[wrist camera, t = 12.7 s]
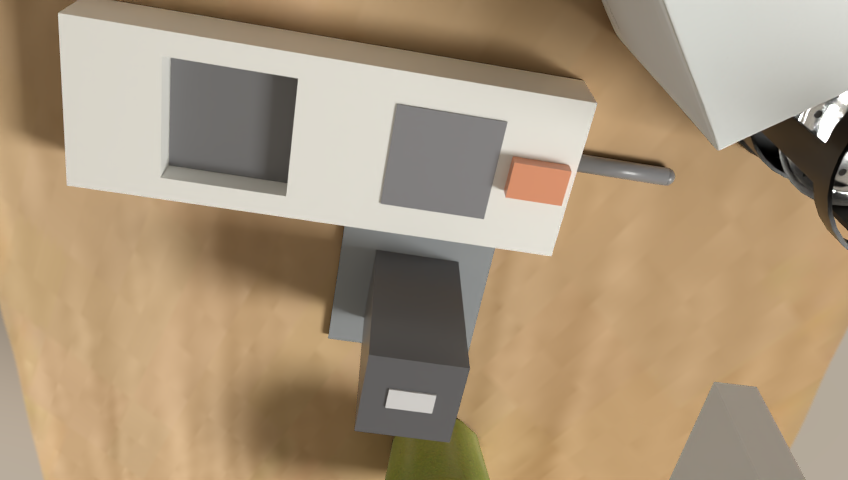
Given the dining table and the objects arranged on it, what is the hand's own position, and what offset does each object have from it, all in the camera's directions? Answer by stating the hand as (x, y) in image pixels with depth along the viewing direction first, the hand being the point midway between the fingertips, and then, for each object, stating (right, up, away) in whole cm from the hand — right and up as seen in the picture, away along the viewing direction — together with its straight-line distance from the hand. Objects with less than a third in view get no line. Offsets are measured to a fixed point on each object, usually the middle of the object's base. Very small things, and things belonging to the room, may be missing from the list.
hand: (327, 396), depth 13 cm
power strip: (0, +9, +30) cm, 31 cm away
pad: (+1, 0, +35) cm, 35 cm away
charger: (+1, 0, +35) cm, 35 cm away
